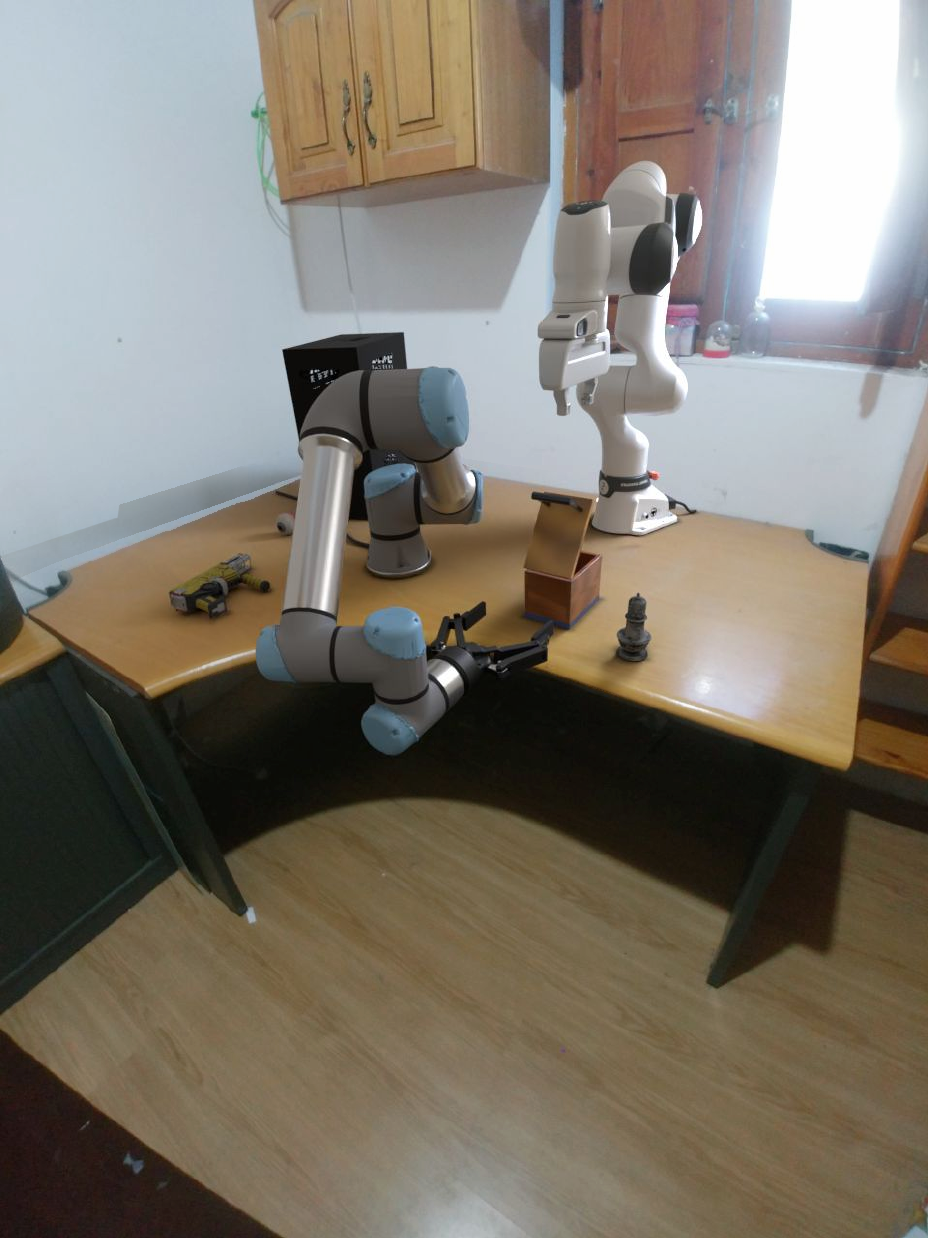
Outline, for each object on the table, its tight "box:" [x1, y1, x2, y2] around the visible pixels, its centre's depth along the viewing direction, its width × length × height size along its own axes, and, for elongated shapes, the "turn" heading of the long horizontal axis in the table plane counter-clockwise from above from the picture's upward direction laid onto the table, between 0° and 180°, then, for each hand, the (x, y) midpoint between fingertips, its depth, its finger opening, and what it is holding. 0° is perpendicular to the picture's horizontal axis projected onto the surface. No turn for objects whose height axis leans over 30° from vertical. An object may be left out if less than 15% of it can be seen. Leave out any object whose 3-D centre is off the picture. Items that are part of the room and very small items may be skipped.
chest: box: [523, 550, 603, 630], centre depth 120 cm, size 14×10×10 cm
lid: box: [523, 491, 595, 579], centre depth 109 cm, size 15×10×8 cm
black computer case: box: [281, 331, 418, 520], centre depth 178 cm, size 38×20×45 cm, turn 167°
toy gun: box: [168, 552, 271, 619], centre depth 134 cm, size 5×24×15 cm
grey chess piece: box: [616, 592, 652, 662], centre depth 103 cm, size 6×6×12 cm
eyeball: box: [275, 511, 296, 536], centre depth 163 cm, size 6×6×6 cm
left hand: (517, 617), depth 106 cm, fingers open, 13 cm apart
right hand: (575, 409), depth 105 cm, fingers open, 8 cm apart
